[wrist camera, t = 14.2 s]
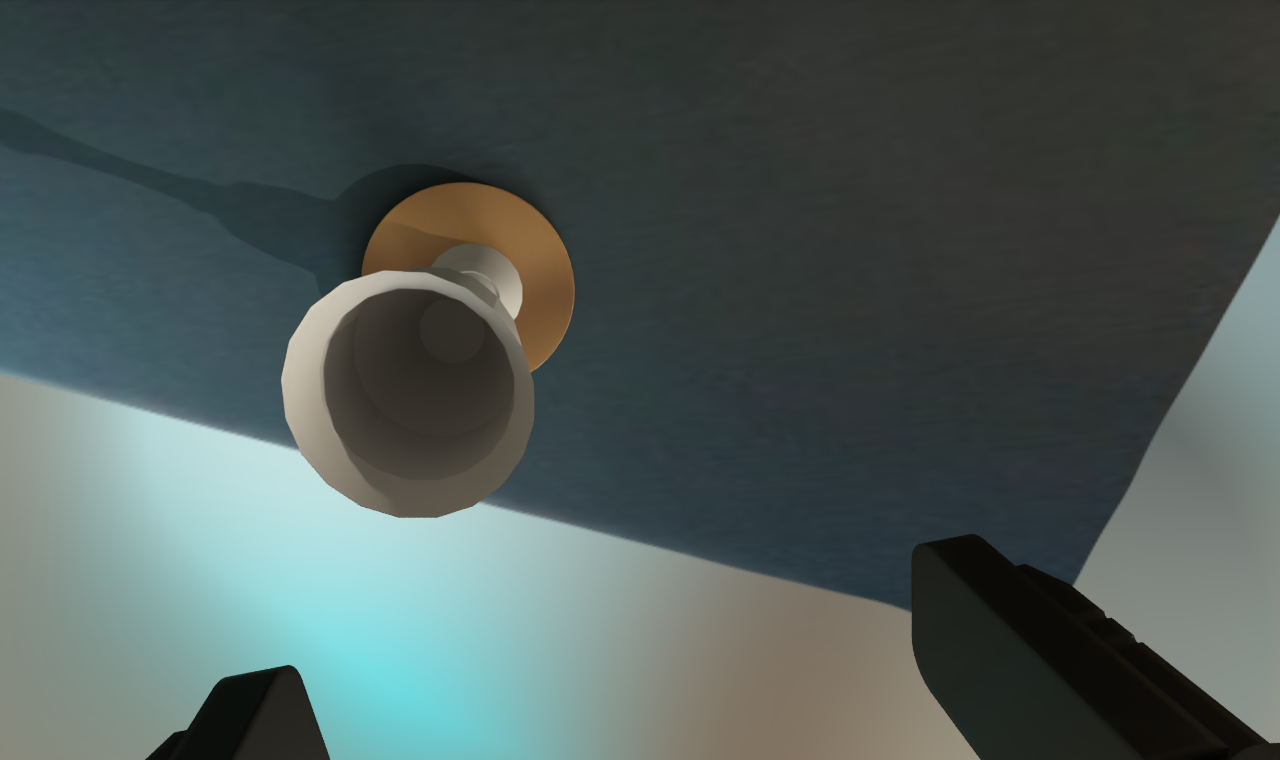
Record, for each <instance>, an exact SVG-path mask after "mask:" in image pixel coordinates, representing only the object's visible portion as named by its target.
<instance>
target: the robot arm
mask: <svg viewBox="0 0 1280 760" xmlns="http://www.w3.org/2000/svg"><path fill="white" fill-rule="evenodd" d="M912 645H913V651H914V656H915V659H916V663H917V665H918V668H919V671H920V673H921V675H922V678H923V680H924V682H925V684H926V685H927V687H928V689H929V690H930V692H931V693H932V694H933V696H934V697H935V698H936V700H937V701H938V703H939V704H940V705H941V707H942V708H943V709H944V710H945V712H946V713H947V715H948V716H949V717H950V719H951V720H952V721H953V723H954V724H955V726H956V727H957V728H958V730H959V731H960V732H961V734H962V735H963V736H964V737H965V739H966V740H967V742H968V743H969V745H970V746H971V747H972V748H973V750H974V751H975V753H976V754H977V755H978V757H979V758H980V759H981V760H1280V743H1269V742H1267V741H1266V740H1265V739H1264V738H1262V737H1261V736H1260V735H1258V734H1257V733H1256V732H1255V731H1253V730H1252V729H1251V728H1250V727H1248V726H1247V725H1246V724H1245V723H1243V722H1242V721H1241V720H1240V719H1238V718H1237V717H1236V716H1234V715H1233V714H1232V713H1231V712H1230V711H1228V710H1227V709H1226V708H1224V707H1223V706H1222V705H1221V704H1219V703H1218V702H1217V701H1216V700H1214V699H1213V698H1212V697H1211V696H1209V695H1208V694H1207V693H1206V692H1204V691H1203V690H1202V689H1201V688H1199V687H1198V686H1197V685H1196V684H1194V683H1193V682H1192V681H1190V680H1189V679H1188V678H1187V677H1186V676H1184V675H1183V674H1182V673H1180V672H1179V671H1178V670H1177V669H1175V668H1174V667H1173V666H1171V665H1170V664H1169V663H1168V662H1167V661H1165V660H1164V659H1163V658H1162V657H1160V656H1159V655H1158V654H1157V653H1155V652H1154V651H1153V650H1152V649H1150V648H1149V647H1148V646H1147V645H1145V644H1144V643H1143V642H1141V643H1137V642H1136V640H1135V638H1134V635H1133V634H1131V633H1130V632H1129V631H1128V630H1126V629H1125V628H1124V627H1123V626H1121V625H1120V624H1119V623H1118V622H1116V621H1115V620H1114V619H1112V618H1106V616H1105V614H1104V611H1103V610H1101V609H1100V608H1099V607H1097V606H1096V605H1095V604H1094V603H1092V602H1091V601H1090V600H1089V599H1087V598H1086V597H1085V596H1084V595H1082V594H1081V593H1080V592H1079V591H1077V590H1076V589H1075V588H1074V587H1072V586H1071V585H1070V584H1068V583H1066V582H1064V581H1061V580H1059V579H1057V578H1055V577H1053V576H1050V575H1048V574H1046V573H1044V572H1042V571H1040V570H1037V569H1035V568H1033V567H1031V566H1029V565H1026V564H1023V565H1018V566H1015V565H1014V564H1012V563H1011V562H1010V561H1009V560H1008V559H1006V558H1005V557H1004V556H1003V555H1002V554H1001V553H999V552H998V551H997V550H996V549H995V548H993V547H992V546H991V545H990V544H989V543H988V542H986V541H985V540H984V539H983V538H981V537H980V536H978V535H975V534H968V535H963V536H958V537H953V538H948V539H943V540H938V541H932V542H927V543H922V544H918V545H917V546H916V547H915V548H914V550H913V553H912ZM145 760H330V758H329V755H328V752H327V749H326V746H325V743H324V740H323V737H322V734H321V732H320V729H319V726H318V723H317V720H316V717H315V715H314V712H313V709H312V706H311V703H310V701H309V698H308V695H307V692H306V689H305V686H304V683H303V680H302V678H301V676H300V674H299V672H298V671H297V669H296V668H295V667H293V666H290V665H286V666H281V667H276V668H271V669H265V670H261V671H255V672H250V673H245V674H240V675H235V676H230V677H225V678H223V679H221V680H220V681H219V682H218V683H217V684H216V685H215V686H214V688H213V689H212V691H211V693H210V694H209V696H208V697H207V699H206V701H205V702H204V704H203V705H202V707H201V708H200V710H199V712H198V713H197V715H196V716H195V718H194V720H193V721H192V723H191V724H190V726H189V727H188V729H187V730H185V731H179V732H175V733H173V734H172V735H171V736H170V737H169V738H168V739H167V740H166V741H165V742H164V743H163V744H161V745H160V746H159V747H158V748H157V749H156V750H155V751H154V752H153V753H152V754H151V755H150V756H149V757H148V758H146V759H145Z"/></svg>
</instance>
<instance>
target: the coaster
mask: <svg viewBox="0 0 1280 760" xmlns="http://www.w3.org/2000/svg"><path fill="white" fill-rule="evenodd" d="M462 244H482V245H485V246H488V247H490V248H493V249H496V250H497V251H499V252H500V253H501V254H503V255H504V256H505V257H506V258H508V259H509V260H510V262H511V263H512V265H513V266H514V267H515V269H516V270H517V272H518V274H519V278H520V281H521V284H522V304H521V307H520V310H519V312H518V315H517V317H516V318H515V319H514V322H515V326H516V329H517V332H518V335H519V338H520V341H521V345H522V348H523V351H524V354H525V358H526V361H527V364H528V367H529V370H530V373H531V372H532V371H533V370H535V369H536V368H538V367H539V366H540V365H541V364H542V363H543V362H544V361H545V360H547V359H548V357H549V356H550V355H551V354H552V353H553V352H554V350H555V349H556V348H557V346H558V345H559V343H560V341H561V340H562V338H563V336H564V334H565V332H566V330H567V328H568V325H569V322H570V319H571V315H572V311H573V305H574V290H575V287H574V277H573V271H572V267H571V262H570V259H569V256H568V254H567V251H566V248H565V246H564V244H563V242H562V240H561V239H560V237H559V235H558V233H557V232H556V231H555V229H554V228H553V226H552V225H551V224H550V223H549V221H548V220H547V219H546V218H545V217H544V216H543V215H542V214H541V213H540V212H539V211H538V210H537V209H535V208H534V207H533V206H532V205H531V204H529V203H528V202H526V201H525V200H523V199H522V198H520V197H518V196H516V195H514V194H512V193H510V192H508V191H506V190H504V189H500V188H497V187H494V186H491V185H486V184H481V183H473V182H455V183H445V184H441V185H436V186H432V187H429V188H426V189H424V190H421V191H419V192H417V193H415V194H413V195H411V196H409V197H407V198H406V199H404V200H403V201H402V202H400V203H399V204H398V205H396V206H395V207H394V208H393V209H392V210H391V211H390V212H389V213H388V214H387V215H386V216H385V217H384V218H383V220H382V221H381V222H380V224H379V225H378V226H377V228H376V229H375V231H374V233H373V235H372V237H371V238H370V241H369V243H368V246H367V248H366V251H365V255H364V259H363V264H362V272H361V277H364V276H367V275H371V274H374V273H377V272H381V271H402V272H403V271H406V270H409V269H413V268H416V267H431V266H432V264H433V263H434V262H435V260H436V259H437V258H438V256H440V255H441V254H443V253H444V252H445V251H447V250H448V249H450V248H452V247H455V246H459V245H462Z"/></svg>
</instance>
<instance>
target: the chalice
mask: <svg viewBox="0 0 1280 760" xmlns="http://www.w3.org/2000/svg"><path fill="white" fill-rule="evenodd" d="M521 304H522V284H521V281H520V278H519V274H518V272H517V270H516V269H515V267H514V266H513V265H512V263H511V262H510V260H509V259H508V258H506V257H505V256H504V255H503V254H501V253H500V252H499V251H497V250H496V249H493V248H490V247H488V246H485V245H482V244H462V245H459V246H455V247H452V248H450V249H448V250H447V251H445V252H444V253H443V254H441V255H440V256H438V258H437V259H436V260H435V262H434V263H433V264H432V266H431V267H416V268H413V269H409V270H406V271H403V272H402V271H381V272H377V273H374V274H371V275H367V276H364V277H361V278H357V279H354V280H351V281H347V282H344V283H342V284H341V285H340V286H338V287H337V288H336V289H334V290H333V291H332V292H330V293H329V294H328V295H326V296H325V297H324V298H322V299H321V300H320V301H318V302H317V303H316V304H315V305H313V306H312V307H311V308H310V309H309V311H308V312H307V314H306V316H305V317H304V319H303V320H302V322H301V324H300V325H299V327H298V328H297V330H296V332H295V333H294V335H293V336H292V338H291V340H290V341H289V346H288V350H287V355H286V360H285V364H284V369H283V374H282V378H281V382H282V390H283V399H284V408H285V416H286V420H287V422H288V425H289V427H290V429H291V431H292V434H293V436H294V438H295V440H296V443H297V445H298V447H299V449H300V451H301V454H302V455H303V456H304V457H305V459H306V460H307V461H308V462H309V463H310V464H311V466H312V467H313V468H314V469H315V470H316V472H317V473H318V474H319V475H320V476H321V477H322V478H323V480H324V481H325V482H326V483H327V484H328V485H329V486H331V487H332V488H334V489H335V490H337V491H338V492H340V493H341V494H343V495H345V496H346V497H348V498H349V499H351V500H352V501H354V502H355V503H357V504H358V505H360V506H362V507H365V508H369V509H372V510H376V511H379V512H382V513H385V514H389V515H392V516H395V517H399V518H400V517H401V518H405V517H408V518H409V517H410V518H412V517H413V518H416V517H418V518H420V517H423V518H426V517H428V518H429V517H431V518H432V517H434V518H437V517H440V516H443V515H447V514H450V513H453V512H456V511H459V510H462V509H466V508H469V507H472V506H474V505H475V504H477V503H478V502H479V501H481V500H482V499H484V498H485V497H486V496H488V495H489V494H490V493H492V492H493V491H495V490H496V489H497V488H499V487H500V486H502V485H503V483H504V482H505V481H506V479H507V478H508V476H509V475H510V474H511V472H512V471H513V470H514V468H515V467H516V465H517V464H518V463H519V461H520V460H521V458H522V457H523V455H524V452H525V449H526V446H527V443H528V439H529V436H530V433H531V430H532V427H533V424H534V383H533V380H532V377H531V374H530V370H529V367H528V364H527V361H526V358H525V354H524V351H523V348H522V345H521V341H520V338H519V335H518V332H517V329H516V326H515V322H514V319H515V318H516V317H517V315H518V312H519V310H520V307H521Z"/></svg>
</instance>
